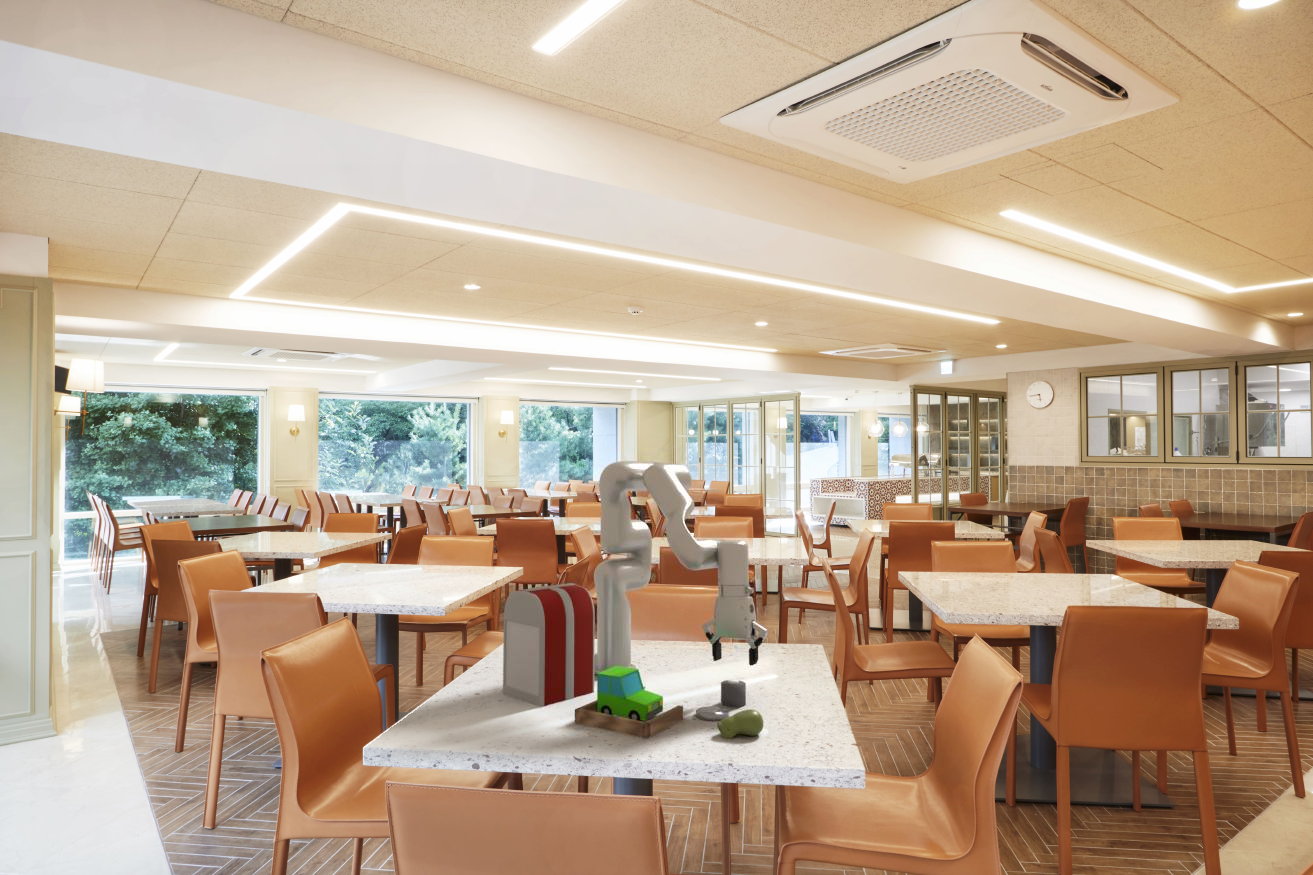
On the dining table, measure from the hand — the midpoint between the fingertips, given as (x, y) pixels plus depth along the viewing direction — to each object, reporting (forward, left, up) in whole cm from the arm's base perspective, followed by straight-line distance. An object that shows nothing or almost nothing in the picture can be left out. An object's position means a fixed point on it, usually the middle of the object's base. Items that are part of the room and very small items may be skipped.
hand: (735, 661), depth 187 cm
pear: (+11, -19, -11) cm, 24 cm away
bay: (-15, -24, -10) cm, 30 cm away
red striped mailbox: (-45, -17, -10) cm, 49 cm away
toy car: (-16, -21, -11) cm, 29 cm away
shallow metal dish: (-1, -11, -10) cm, 15 cm away
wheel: (-1, 0, -10) cm, 10 cm away
